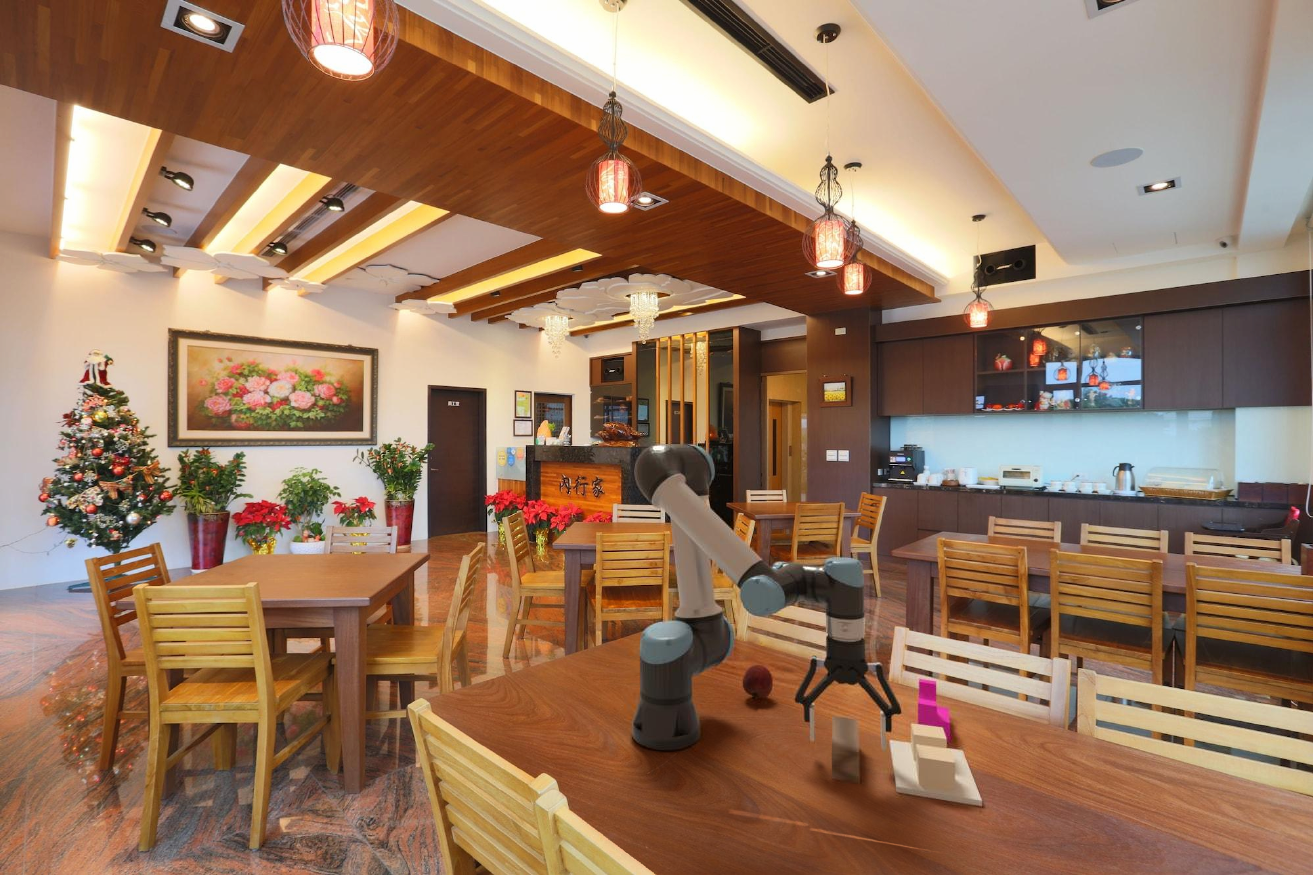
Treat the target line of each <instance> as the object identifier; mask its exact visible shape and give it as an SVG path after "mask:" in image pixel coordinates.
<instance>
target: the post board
mask: <svg viewBox="0 0 1313 875" xmlns="http://www.w3.org/2000/svg"><path fill="white" fill-rule="evenodd" d="M947 743H948V742H947V739H946V736H945V733H944V730H943V727H935V726H928V725H920V724H918V723H910V742H906V741H901V740H894V739H893V740H892V739H889V749H890V755H891V762H892V769H893V775H894V781H895V782H894V783H895V790H896V793H899V794H904V795H905V794H906V795H911V796H917V797H923V798H930V799H936V800H943V801H948V802H954V803H960V804H966V805H973V806H977V807H978V806H979V807H983V799H982V796H981V795H980V792H979V790H978V786H977V784H976V780H975V779H974V777H973V773H972V771H971V769H970V768H971V767H969V764H968V760H967V758H966V756H965V753H964V751H963V750H962V749H956V748H955V749H954V748H951V747H950V748H948V744H947Z"/></svg>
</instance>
